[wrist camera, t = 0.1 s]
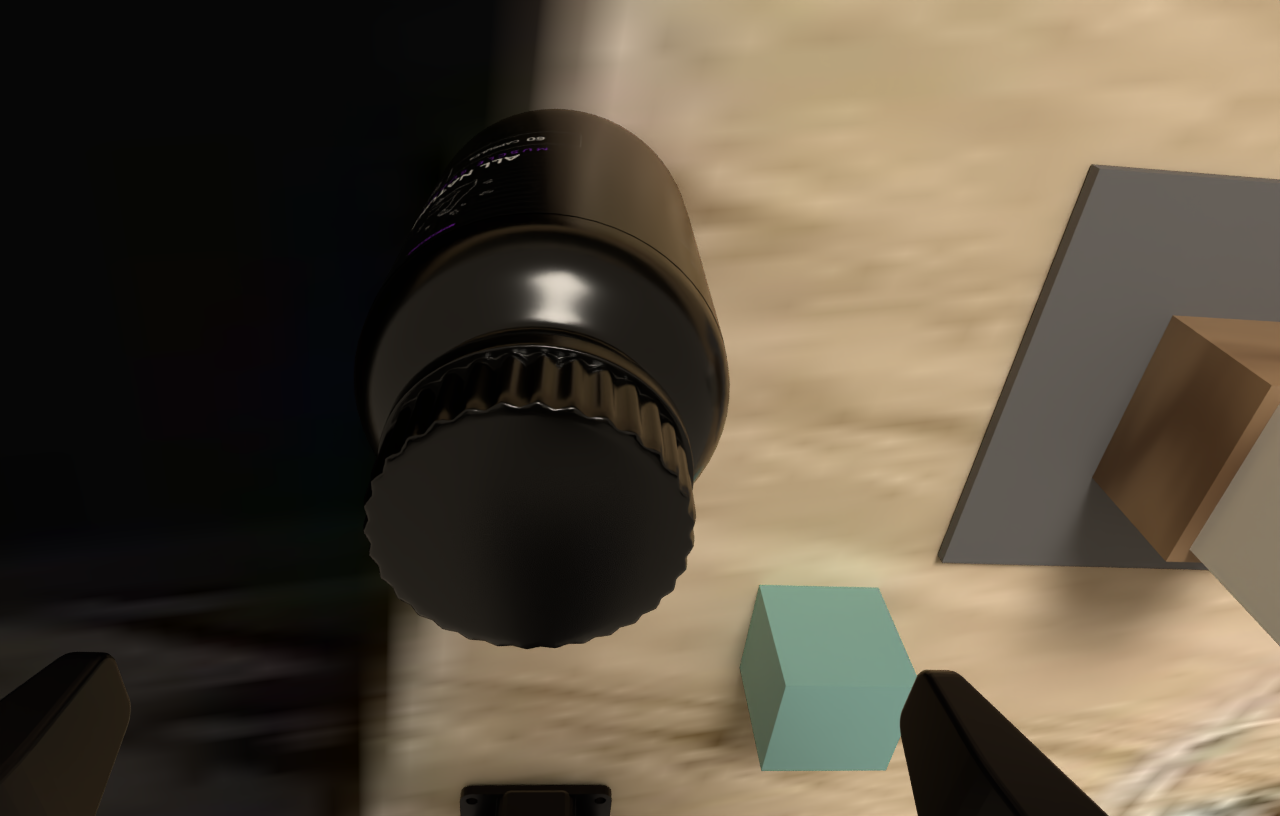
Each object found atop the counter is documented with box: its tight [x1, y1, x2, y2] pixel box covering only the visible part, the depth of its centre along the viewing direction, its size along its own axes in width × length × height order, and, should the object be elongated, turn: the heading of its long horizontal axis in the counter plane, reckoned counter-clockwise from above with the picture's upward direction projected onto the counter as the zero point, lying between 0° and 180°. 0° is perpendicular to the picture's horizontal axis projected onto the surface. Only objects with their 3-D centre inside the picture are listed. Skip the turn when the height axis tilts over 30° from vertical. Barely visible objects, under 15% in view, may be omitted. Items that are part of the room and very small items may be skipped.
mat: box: [938, 164, 1280, 570], centre depth 25 cm, size 14×14×1 cm
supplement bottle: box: [354, 109, 730, 649], centre depth 16 cm, size 7×7×12 cm
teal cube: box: [740, 585, 917, 771], centre depth 29 cm, size 4×4×4 cm
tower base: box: [1092, 315, 1280, 563], centre depth 24 cm, size 6×6×4 cm
